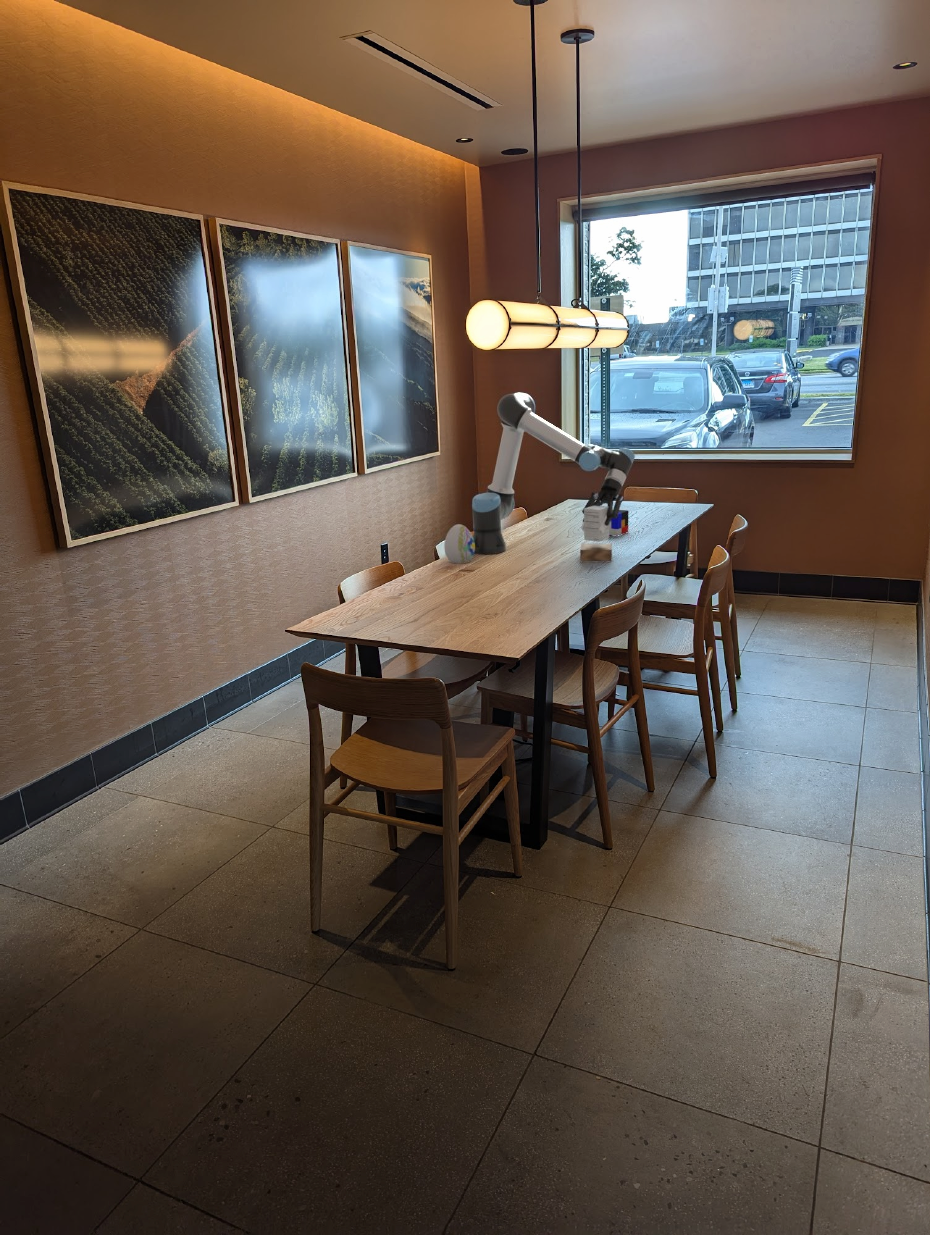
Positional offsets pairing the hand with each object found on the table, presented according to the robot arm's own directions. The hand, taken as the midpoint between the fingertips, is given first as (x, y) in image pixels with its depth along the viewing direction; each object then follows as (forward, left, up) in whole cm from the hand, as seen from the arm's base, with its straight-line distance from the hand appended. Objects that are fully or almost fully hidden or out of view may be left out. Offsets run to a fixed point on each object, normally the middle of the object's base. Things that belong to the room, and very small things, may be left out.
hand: (591, 530), depth 326 cm
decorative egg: (-52, +6, -12) cm, 54 cm away
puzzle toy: (+15, +50, -12) cm, 53 cm away
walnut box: (+2, +3, -12) cm, 13 cm away
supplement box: (+2, +3, -4) cm, 6 cm away
